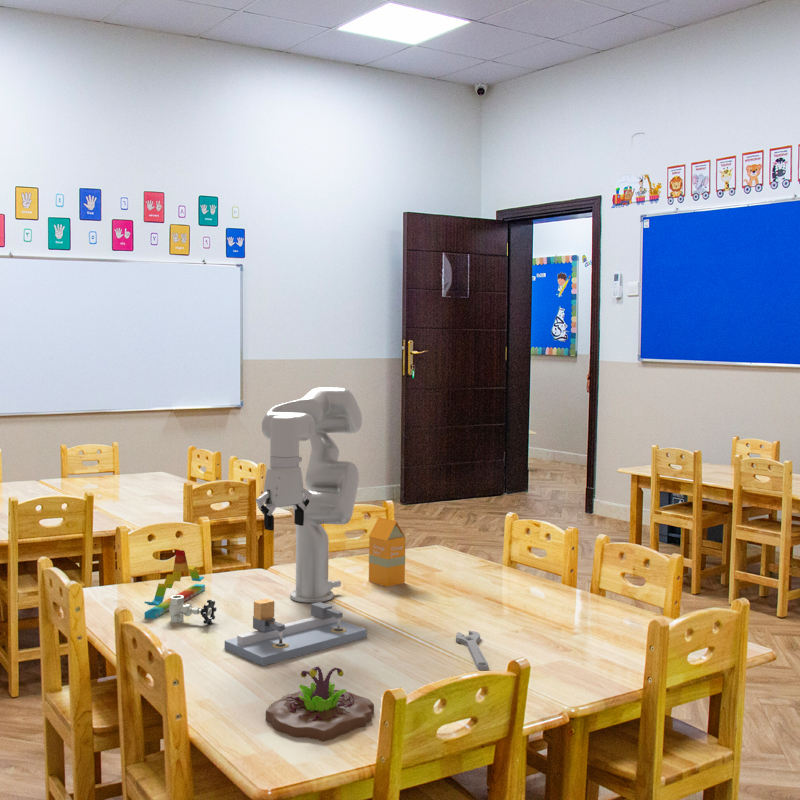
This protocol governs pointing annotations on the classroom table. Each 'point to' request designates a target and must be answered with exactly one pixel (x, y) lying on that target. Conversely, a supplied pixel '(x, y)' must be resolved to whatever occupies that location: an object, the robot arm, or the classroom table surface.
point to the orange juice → (386, 553)
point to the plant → (319, 710)
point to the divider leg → (266, 618)
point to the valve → (190, 610)
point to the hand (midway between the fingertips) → (284, 527)
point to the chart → (159, 596)
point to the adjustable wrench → (473, 648)
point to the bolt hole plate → (297, 637)
